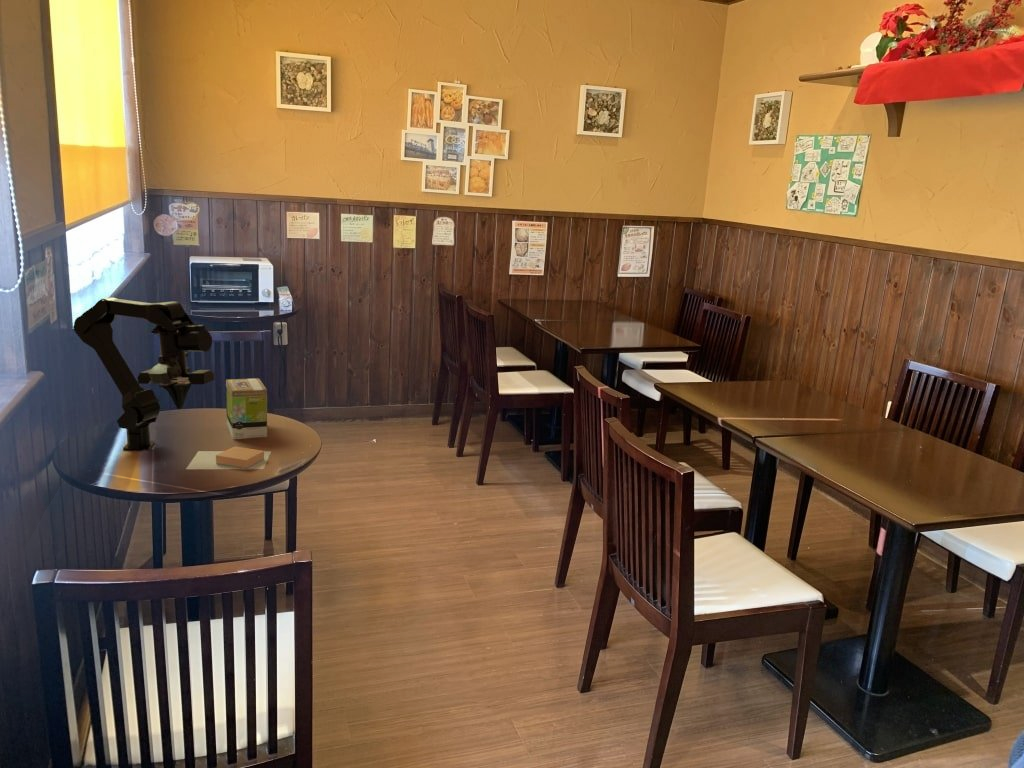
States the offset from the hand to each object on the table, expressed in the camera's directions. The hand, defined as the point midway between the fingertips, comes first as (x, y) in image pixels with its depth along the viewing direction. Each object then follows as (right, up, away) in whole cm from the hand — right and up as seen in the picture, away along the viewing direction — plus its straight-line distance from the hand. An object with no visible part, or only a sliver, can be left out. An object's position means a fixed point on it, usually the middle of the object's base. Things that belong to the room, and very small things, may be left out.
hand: (179, 408), depth 205 cm
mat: (+14, -14, -1) cm, 20 cm away
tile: (+12, -12, -1) cm, 18 cm away
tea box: (+9, -8, +24) cm, 27 cm away
